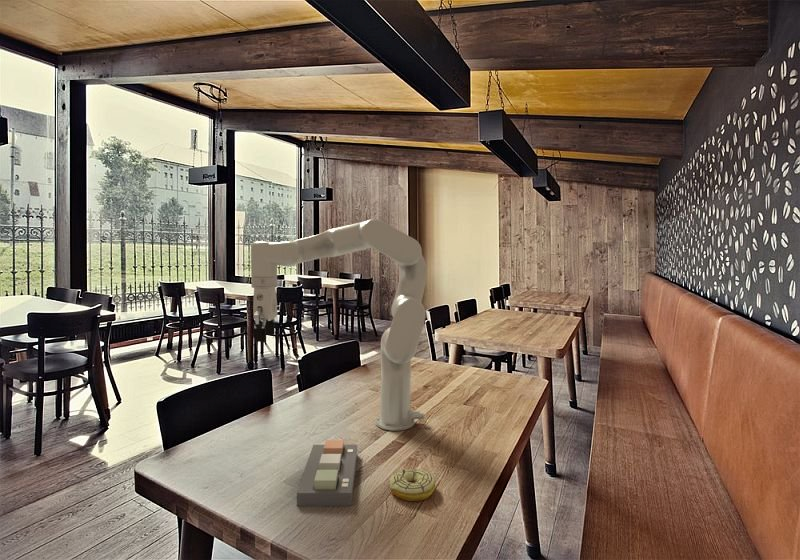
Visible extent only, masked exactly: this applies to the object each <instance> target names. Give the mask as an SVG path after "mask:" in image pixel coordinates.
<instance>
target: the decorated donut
mask: <svg viewBox="0 0 800 560" xmlns="http://www.w3.org/2000/svg"><path fill="white" fill-rule="evenodd" d="M389 490H390V491H391V494H392V495H394V496H396V497H397V498H398V499H401V500H403V501H408V502H420V501H424V500H427V499H429V498H430V497H431V496H432V495H433V493H434V492H435V490H436V478H435V476H434V475H433V474H432V473H430V472H428V471H426V470H423V469H417V468H411V469H410V468H409V469H407V468H406V469H402V470H400V471H397V472H396V473H394V474H393V475H391V477H390V478H389Z"/></svg>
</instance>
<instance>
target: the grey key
mask: <svg viewBox="0 0 800 560" xmlns="http://www.w3.org/2000/svg"><path fill="white" fill-rule="evenodd" d="M340 468H341V454H322V455H321V459H320V462H319V470H338V472H340Z"/></svg>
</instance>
